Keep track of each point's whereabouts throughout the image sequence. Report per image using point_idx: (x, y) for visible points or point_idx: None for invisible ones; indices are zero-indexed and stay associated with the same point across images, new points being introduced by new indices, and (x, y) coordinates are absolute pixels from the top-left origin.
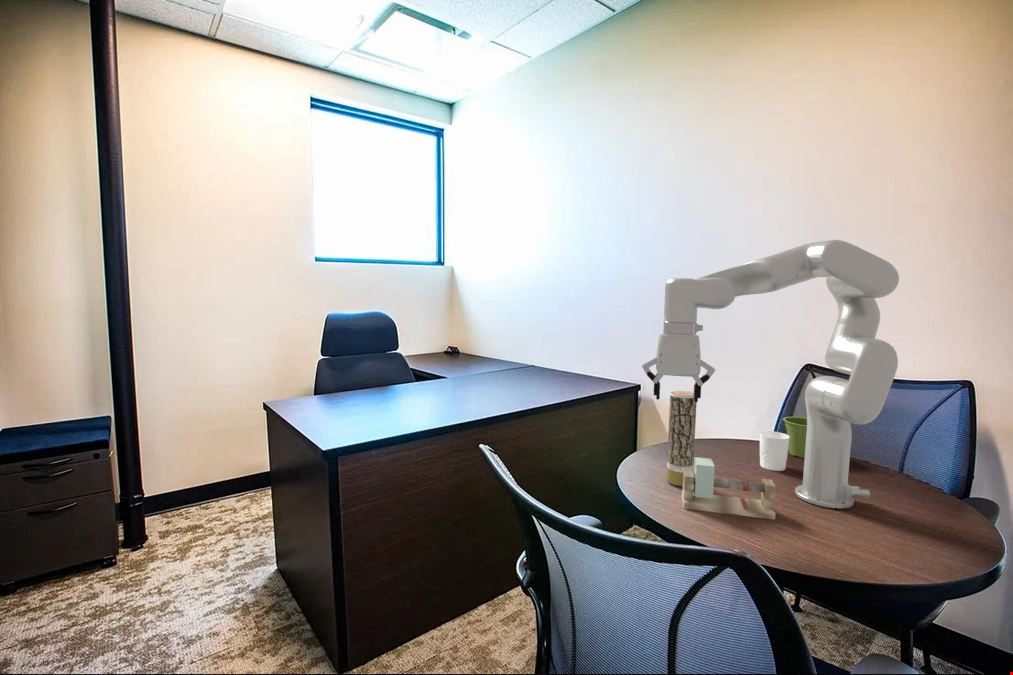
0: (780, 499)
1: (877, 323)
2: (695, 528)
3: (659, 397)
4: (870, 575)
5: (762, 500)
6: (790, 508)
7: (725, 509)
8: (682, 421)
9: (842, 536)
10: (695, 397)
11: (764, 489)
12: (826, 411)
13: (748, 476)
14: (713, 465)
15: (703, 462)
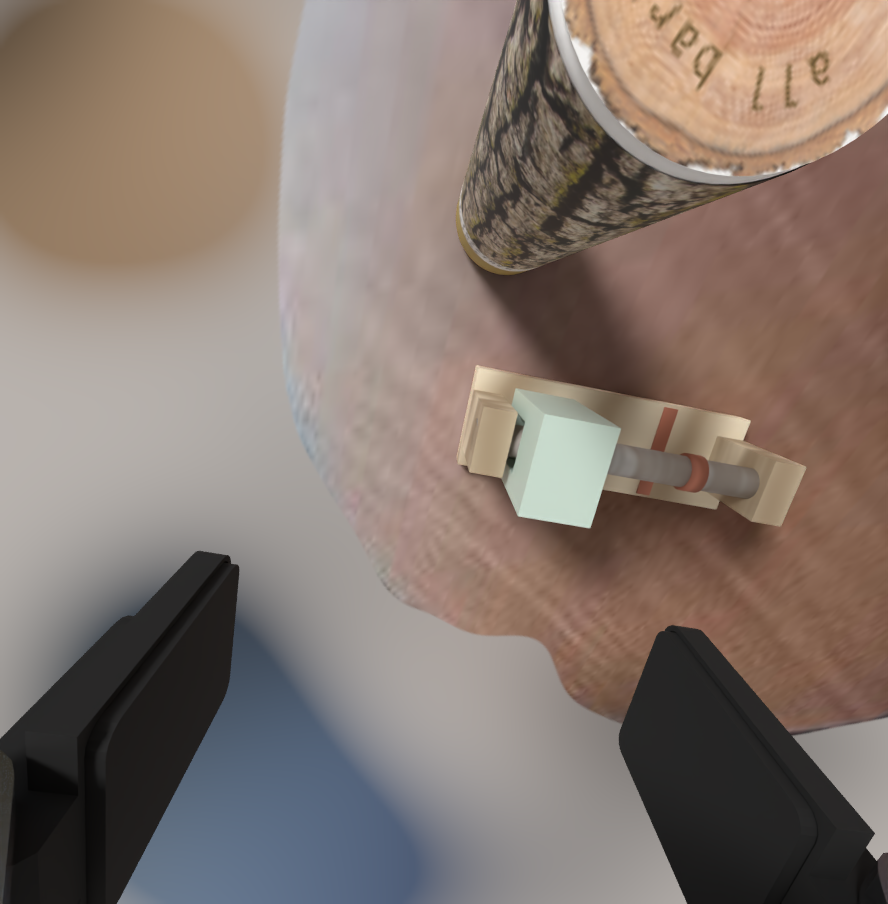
0: (820, 349)
1: None
2: (453, 574)
3: (217, 710)
4: None
5: (719, 461)
6: (804, 419)
7: None
8: (571, 234)
9: (823, 572)
10: (645, 790)
11: (741, 498)
12: None
13: None
14: (590, 515)
15: (559, 485)
